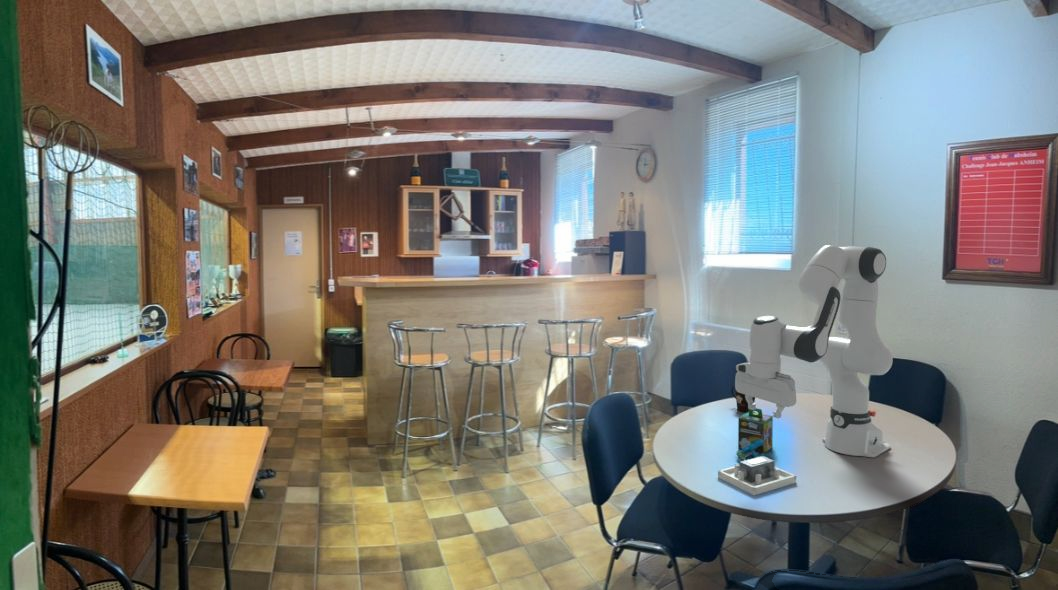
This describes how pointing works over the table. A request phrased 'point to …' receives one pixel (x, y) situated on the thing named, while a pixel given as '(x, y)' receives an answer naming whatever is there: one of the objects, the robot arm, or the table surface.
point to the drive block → (757, 468)
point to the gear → (749, 450)
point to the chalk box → (755, 430)
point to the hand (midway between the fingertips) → (764, 413)
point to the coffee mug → (741, 401)
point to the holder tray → (752, 486)
